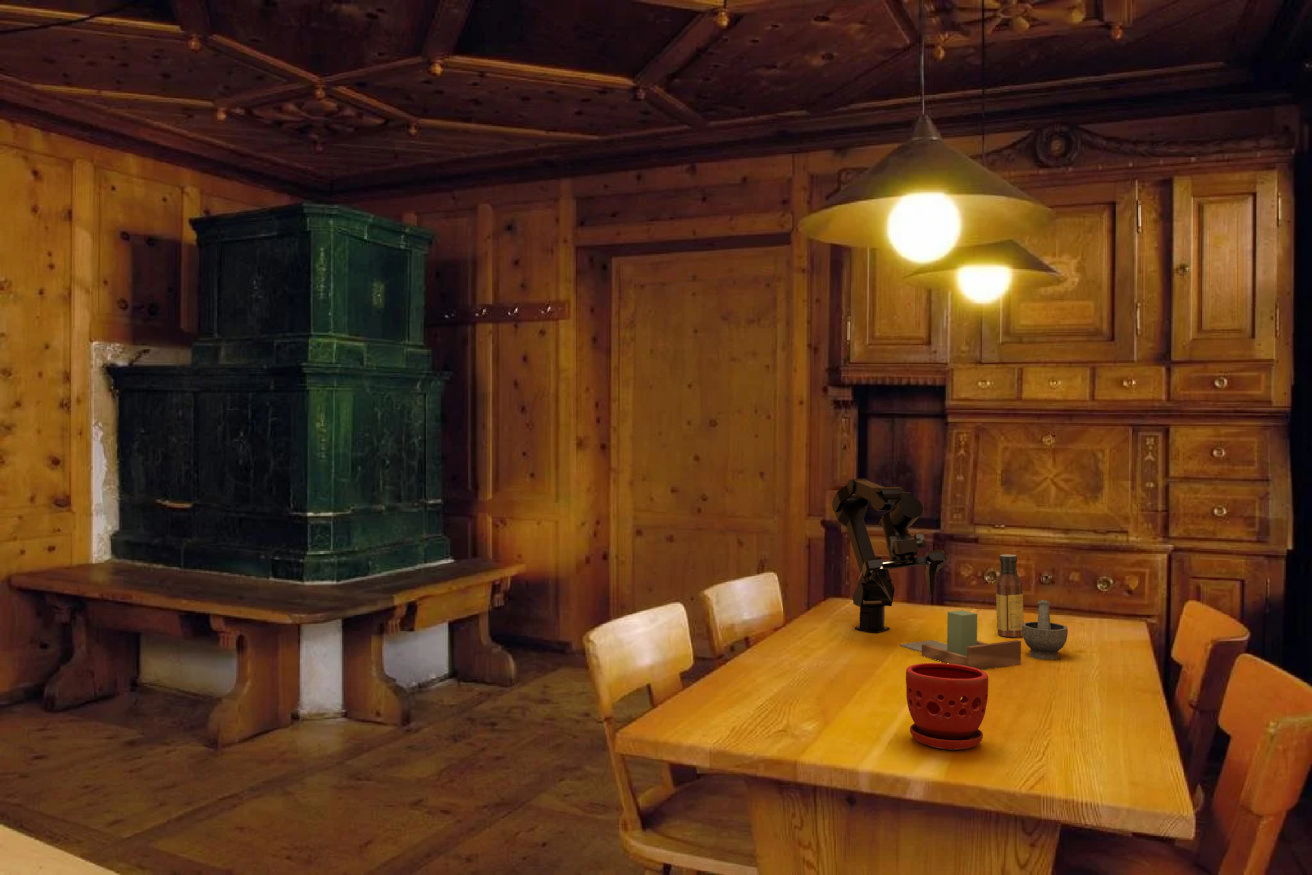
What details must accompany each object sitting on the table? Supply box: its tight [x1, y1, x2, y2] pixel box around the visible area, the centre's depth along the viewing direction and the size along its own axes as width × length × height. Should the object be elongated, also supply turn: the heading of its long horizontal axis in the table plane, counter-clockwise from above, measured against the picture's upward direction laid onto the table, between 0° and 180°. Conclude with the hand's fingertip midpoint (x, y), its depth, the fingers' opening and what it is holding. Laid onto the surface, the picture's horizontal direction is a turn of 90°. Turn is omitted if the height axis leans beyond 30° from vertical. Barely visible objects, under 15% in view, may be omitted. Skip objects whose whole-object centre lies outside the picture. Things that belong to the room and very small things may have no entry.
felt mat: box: [899, 639, 947, 653], centre depth 232 cm, size 10×10×1 cm
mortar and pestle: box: [1022, 599, 1069, 661], centre depth 224 cm, size 11×9×12 cm
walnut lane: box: [921, 639, 1022, 671], centre depth 220 cm, size 15×14×5 cm
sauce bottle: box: [995, 553, 1025, 638], centre depth 245 cm, size 7×6×20 cm
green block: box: [946, 609, 978, 656], centre depth 223 cm, size 4×4×10 cm
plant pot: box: [905, 662, 989, 752], centre depth 165 cm, size 13×13×12 cm
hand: (912, 598), depth 229 cm, fingers open, 9 cm apart
